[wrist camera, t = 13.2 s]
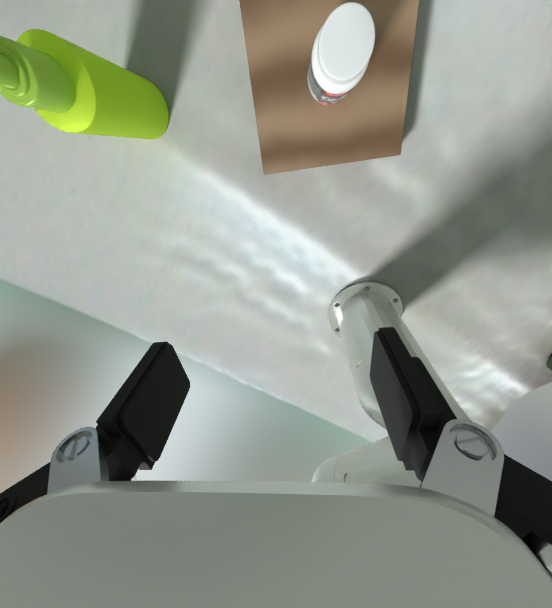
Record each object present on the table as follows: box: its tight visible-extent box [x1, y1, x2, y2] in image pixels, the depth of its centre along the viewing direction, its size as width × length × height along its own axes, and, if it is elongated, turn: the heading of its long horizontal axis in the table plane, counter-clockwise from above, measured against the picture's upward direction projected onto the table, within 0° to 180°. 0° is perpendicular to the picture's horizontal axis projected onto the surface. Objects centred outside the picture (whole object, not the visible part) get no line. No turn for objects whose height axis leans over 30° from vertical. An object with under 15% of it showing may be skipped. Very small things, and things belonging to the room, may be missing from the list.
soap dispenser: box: [0, 29, 169, 139], centre depth 21 cm, size 6×7×20 cm
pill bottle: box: [308, 2, 375, 105], centre depth 21 cm, size 5×5×8 cm
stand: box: [240, 0, 419, 175], centre depth 26 cm, size 16×16×3 cm
